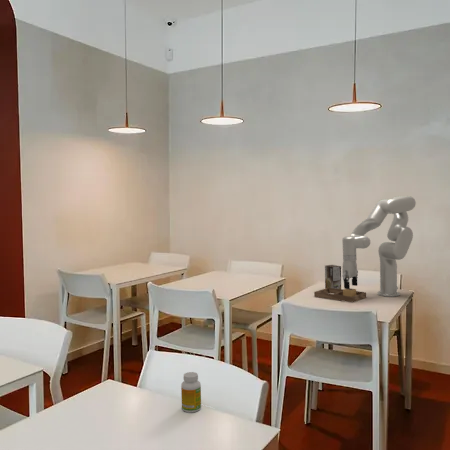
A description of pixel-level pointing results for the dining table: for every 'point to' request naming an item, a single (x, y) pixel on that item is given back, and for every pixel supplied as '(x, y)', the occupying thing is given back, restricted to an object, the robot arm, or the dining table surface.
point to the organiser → (339, 295)
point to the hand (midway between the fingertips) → (350, 286)
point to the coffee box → (333, 276)
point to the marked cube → (349, 292)
